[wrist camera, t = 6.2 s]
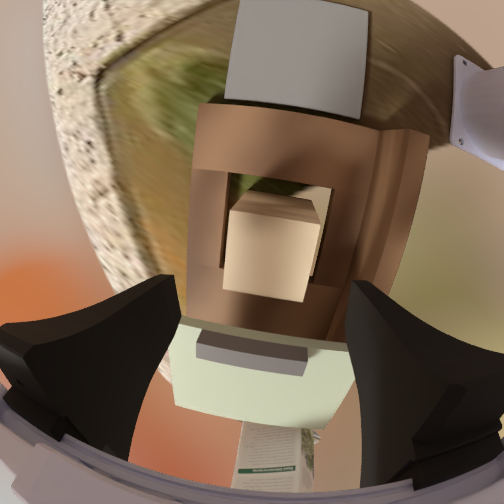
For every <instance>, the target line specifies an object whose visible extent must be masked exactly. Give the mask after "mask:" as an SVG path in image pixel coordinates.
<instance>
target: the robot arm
mask: <svg viewBox="0 0 504 504" xmlns="http://www.w3.org/2000/svg"><path fill="white" fill-rule="evenodd" d="M463 62H464V63H465V65H464V64H463ZM449 138H450V143H451V144H452V145H453V146H455V147H458V148H460V149H462V150H464V151H466V152H468V153H470V154H472V155H474V156H476V157H478V158H480V159H482V160H484V161H486V162H488V163H490V164H492V165H494V166H495V167H497V168H499V169H501V170H502V171H504V67H499V68H495V69H490V70H486V71H485V70H483V69H482V68H480V67H479V66H477V65H475V64H474V63H472V62H471V61H469V60H467V59H465V58H464V57H462V56H460V55H455V56H454V88H453V107H452V119H451V129H450V137H449ZM459 139H460V140H461V144H459ZM181 317H182V316H181V311H180V306H179V301H178V295H177V290H176V284H175V279H174V275H166V274H160V275H157V276H154V277H152V278H150V279H147V280H145V281H143V282H141V283H139V284H137V285H135V286H133V287H131V288H129V289H127V290H125V291H123V292H121V293H119V294H117V295H115V296H113V297H110V298H108V299H106V300H104V301H102V302H100V303H97V304H95V305H92V306H90V307H87V308H84V309H81V310H79V311H75V312H72V313H68V314H65V315H61V316H57V317H53V318H48V319H43V320H37V321H29V322H18V323H6V324H3V325H2V326H1V327H0V369H1V370H2V372H3V373H4V375H5V376H6V378H7V379H8V381H9V382H10V384H11V385H12V387H11V388H10V389H9V390H7V389H6V388H5V387H4V386H3V384H1V383H0V461H1V462H2V463H3V464H4V465H5V467H6V468H7V469H8V470H9V471H10V472H11V473H12V474H13V475H14V476H15V477H16V478H15V480H14V481H13V483H12V485H11V487H12V490H13V492H14V494H15V495H16V496H17V497H18V498H19V499H20V500H21V501H22V502H23V503H24V504H504V437H503V438H502V439H500V436H499V434H498V431H500V430H501V429H502V424H501V421H500V417H501V416H502V415H503V414H504V354H502V353H498V352H494V351H490V350H486V349H482V348H480V347H477V346H474V345H471V344H468V343H466V342H463V341H460V340H458V339H456V338H454V337H452V336H450V335H447V334H445V333H443V332H441V331H439V330H437V329H436V328H434V327H432V326H430V325H429V324H427V323H425V322H423V321H422V320H420V319H419V318H417V317H416V316H414V315H413V314H411V313H410V312H408V311H407V310H405V309H404V308H403V307H401V306H400V305H399V304H397V303H396V302H395V301H394V300H392V299H391V298H389V297H388V296H387V295H386V294H385V293H383V292H382V291H381V290H379V289H378V288H377V287H376V286H374V285H373V284H372V283H370V282H369V281H367V280H351V287H350V293H349V299H348V305H347V311H346V317H345V322H344V325H345V334H346V342H347V348H348V352H349V356H350V360H351V364H352V368H353V372H354V376H355V380H356V384H357V388H358V394H359V401H360V412H361V429H362V465H361V480H360V488H359V489H351V490H341V491H328V492H301V493H294V492H266V491H254V490H244V489H235V488H228V487H221V486H216V485H210V484H205V483H200V482H194V481H190V480H186V479H182V478H178V477H174V476H170V475H167V474H163V473H160V472H156V471H153V470H150V469H147V468H144V467H141V466H138V465H135V464H132V463H130V462H128V457H129V452H130V446H131V442H132V437H133V433H134V429H135V425H136V421H137V418H138V414H139V412H140V409H141V406H142V402H143V399H144V397H145V394H146V391H147V389H148V386H149V383H150V381H151V379H152V377H153V375H154V373H155V371H156V369H157V367H158V366H159V364H160V362H161V360H162V358H163V356H164V355H165V353H166V351H167V349H168V347H169V345H170V344H171V342H172V340H173V338H174V336H175V333H176V331H177V328H178V325H179V323H180V320H181ZM111 479H112V480H111ZM141 491H142V492H141Z"/></svg>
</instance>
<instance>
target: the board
mask: <svg viewBox="0 0 504 504" xmlns="http://www.w3.org/2000/svg"><path fill="white" fill-rule="evenodd" d="M429 140H430V136H429V135H427V134H424V133H422V132H419V131H416V130H413V129H411V128H408V129H395V130H384V131H378V130H374V129H371V128H367V127H363V126H359V125H356V124H351V123H347V122H343V121H339V120H334V119H329V118H325V117H320V116H314V115H309V114H303V113H297V112H291V111H284V110H277V109H270V108H261V107H252V106H241V105H228V104H209V103H199V107H198V115H197V124H196V132H195V142H194V152H193V163H192V175H191V188H190V203H189V221H188V244H187V317H191V318H195V319H200V320H204V321H209V322H214V323H219V324H224V325H229V326H234V327H239V328H244V329H250V330H256V331H261V332H267V333H273V334H280V335H286V336H293V337H300V338H307V339H315V340H323V341H332V342H341V343H347V342H346V334H345V325H344V322H345V317H346V311H347V305H348V299H349V293H350V287H351V280H367V281H369V282H370V283H372V284H373V285H374V286H376V287H377V288H378V289H379V290H381V291H382V292H383V293H385V294H386V295H387V296H388V294H389V292H390V289H391V286H392V284H393V281H394V278H395V276H396V273H397V270H398V267H399V264H400V261H401V258H402V255H403V252H404V249H405V246H406V242H407V239H408V236H409V232H410V229H411V225H412V221H413V218H414V214H415V210H416V206H417V202H418V198H419V194H420V189H421V184H422V180H423V175H424V170H425V164H426V159H427V153H428V147H429ZM231 173H240V174H247V175H255V176H262V177H268V178H275V179H281V180H287V181H293V182H299V183H305V184H310V185H316V186H321V187H326V188H331V189H332V190H331V195H330V200H329V206H328V211H327V215H326V220H325V225H324V229H323V234H322V238H321V243H320V247H319V251H318V256H317V260H316V264H315V268H314V272H313V276H309V279H308V283H307V287H306V291H305V295H304V299H303V302H297V301H291V300H284V299H278V298H272V297H266V296H260V295H254V294H248V293H243V292H237V291H232V290H226V289H223V278H224V266H225V262H224V261H223V252H224V241H225V230H226V220H227V210H228V201H229V191H230V182H231Z"/></svg>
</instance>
